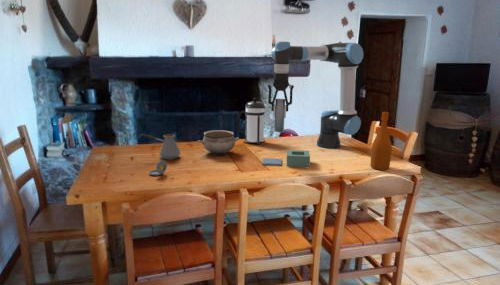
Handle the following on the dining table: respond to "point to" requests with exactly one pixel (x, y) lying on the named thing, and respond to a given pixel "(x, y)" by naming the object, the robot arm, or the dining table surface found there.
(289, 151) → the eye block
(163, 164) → the pocket watch
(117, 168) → the dining table surface
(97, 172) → the dining table surface
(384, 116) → the wine bottle
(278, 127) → the metal peg
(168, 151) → the coffee pot
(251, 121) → the coffee press
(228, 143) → the cooking pot
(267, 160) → the slate mat
